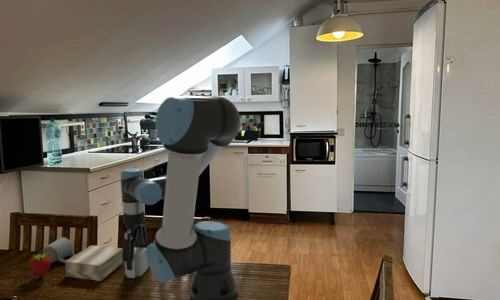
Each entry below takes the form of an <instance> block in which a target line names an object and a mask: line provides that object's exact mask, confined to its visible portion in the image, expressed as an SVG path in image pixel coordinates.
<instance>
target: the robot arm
mask: <svg viewBox="0 0 500 300" xmlns="http://www.w3.org/2000/svg"><path fill="white" fill-rule="evenodd" d="M154 124H155V129H156V131H155V133H156V137H157V138H158V140H159V141H160V142H161V143H162V146H163V149H164V150H165V151H166V152H167V153H168V156H167V166H166V175H165V176H164V175H163V176H159V177H151V178H145V177H144V172H143V169H142V168H137V167H134V168H133V167H131V168H130V167H129V168H126V169H123V170H121V172H120V188H121V189H120V190H121V205H122V207H121V208H122V212H123V213H122V223H123V224H124V225H126V232H123V233H122V248H123V255H122V261H123V263H125V262H126V267H127V275H126V278H129V279H131V278H132V279H135V278H136V276H135V262H134V260H133V256H134V249H135V247H136V243H137V246H138V248H146V256H147V261H148V268H149V269H150V271H151V273H152V275H153V277H154V278H155V280H156V281H158V282H160V283H162V284H164V283H169V282H171V281H175V280H177V279H180V278H182V277H185V276H188V275H190V274H193V276H192V279H191V282H190V286H189V295H190V298H191V299H192V300H232V299H234V297H235V296H236V294H237V282H236V279H235V276H234V273H233V271H232V258H231V257H232V250H231V249H232V245H231V244H232V237H231V235H232V234H231V228H230V227H229V226H228V225H227V224H225V223H222V222H218V221H214V220H213V221H212V220H211V221H210V220H208V221H199V222H196V223H195V224H194V220H195V219H194V218H195V211H196V202H197V196H198V185H199V178H200V175H202V173H203V172H204V171H205V169H206V168H207V167H208V166H209V164H210V163H211V162H212V161H213V159H215V157H216V156H217V155H218V153H219V152H221V150H222V148H225V147H227V146H229V145H231V143H232V142H233V140H235V138H236V136H237V135H238V133H239V130H240V128H241V127H240V126H241V116H240V113H239V110H238V108H237V107H236V105H235V104H234V103H233V102H232V101H231V100H229V99H227V98H225V97H222V96H219V95H218V96H217V95H211V96H205V95H204V96H202V95H200V96H199V95H184V94H183V95H180V96H177V95H176V96H170V97H167V98H165V100H164V101H162V102H161V104H160V105H159V107H158V109H157V112H156V115H155V123H154ZM163 199H164V200H163ZM160 200H163V210H162V220H161V222H162V224H161V228H159V229H158V230H157V231H156V233H155V241H154V242H151V243H149V241H148V240H149V239H148V233H147V227H146V223H147V222H146V211H145V206H146V205H148V206H152V205H155V204H156V203H158V202H159V201H160ZM148 243H149V244H148Z"/></svg>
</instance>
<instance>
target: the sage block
mask: <svg viewBox="0 0 500 300" xmlns="http://www.w3.org/2000/svg"><path fill="white" fill-rule="evenodd" d="M133 260H134V262H135V277H142V276H143V275H144V274H145V273H146V271H147V270H148V269H149V264H148V261H147V256H146V248H140V247H139V246H138V247H136V246H135V249H134V256H133ZM124 275H125V276H127V267H126V262H124Z"/></svg>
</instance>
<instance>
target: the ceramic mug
mask: <svg viewBox="0 0 500 300" xmlns="http://www.w3.org/2000/svg"><path fill="white" fill-rule="evenodd" d="M46 253H48V254H46ZM42 254H46V255H47V257H48V258H50V261H51V264H54V263H57V262H60V263H63V264H65V261H67V260H68V259H65V258H67V257H68V256H70V255H71V256H72V257H73V256H75V255H76V254H75V252H74V246H73V243H72V242H71V240H70V239H68V238H67V237H60V238H58V239H57V240H54V241H53V242H51V243H49V244H48V245H47V246H46V247H44V249H43V251H42Z"/></svg>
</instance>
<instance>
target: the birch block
mask: <svg viewBox="0 0 500 300" xmlns="http://www.w3.org/2000/svg"><path fill="white" fill-rule="evenodd" d="M122 255H123V247H122V248H121V247H113V246H102V245H101V246H100V245H92V244H91V245H89V246H88V247H86V248H84V249H82V251H80V252H78V253H76V254H75V256H72V257H70V258H68V259H66V260H67V261H65V263H64V266H65V268H64V269H65V277H67V278H68V277H69V278H76V279H82V280H83V279H84V280H90V281H91V280H93V281H98V282H99V281H102V280H104V279H105V278H106V277H108V276H109V275H110V274H111V273H113V271H115V270H116V269H117V268H118V267H120V266H122V264H124V262H123V261H122Z"/></svg>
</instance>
